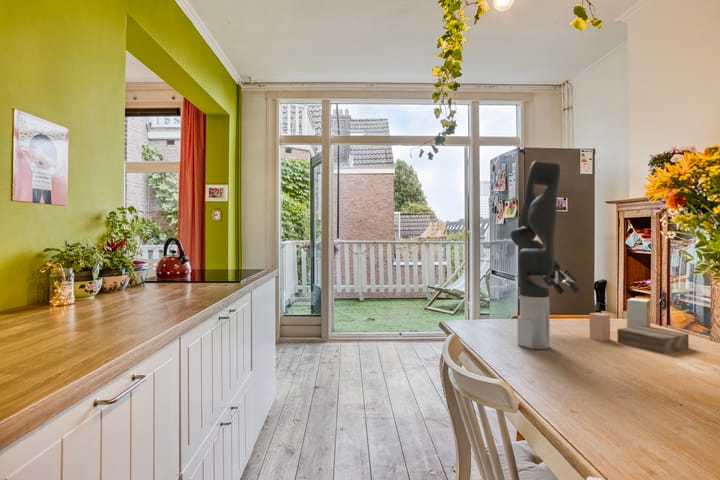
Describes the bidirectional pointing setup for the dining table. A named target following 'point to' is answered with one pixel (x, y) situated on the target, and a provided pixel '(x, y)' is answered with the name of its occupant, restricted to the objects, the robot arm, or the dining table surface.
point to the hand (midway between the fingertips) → (570, 292)
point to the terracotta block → (600, 326)
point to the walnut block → (653, 338)
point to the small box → (638, 312)
